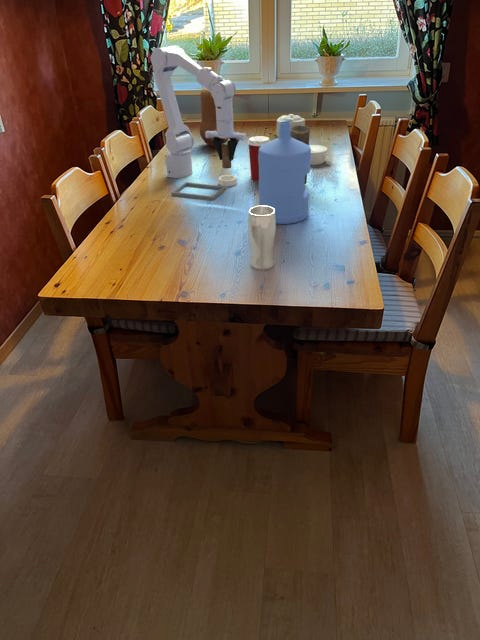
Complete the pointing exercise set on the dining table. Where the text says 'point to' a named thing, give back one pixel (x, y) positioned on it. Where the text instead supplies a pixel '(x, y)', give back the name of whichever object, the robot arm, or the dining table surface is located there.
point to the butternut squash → (208, 116)
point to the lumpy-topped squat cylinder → (291, 118)
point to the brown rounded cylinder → (301, 136)
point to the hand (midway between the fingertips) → (226, 159)
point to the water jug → (284, 176)
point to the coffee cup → (255, 154)
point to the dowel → (225, 156)
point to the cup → (227, 180)
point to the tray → (177, 193)
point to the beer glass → (262, 236)
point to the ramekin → (318, 154)
